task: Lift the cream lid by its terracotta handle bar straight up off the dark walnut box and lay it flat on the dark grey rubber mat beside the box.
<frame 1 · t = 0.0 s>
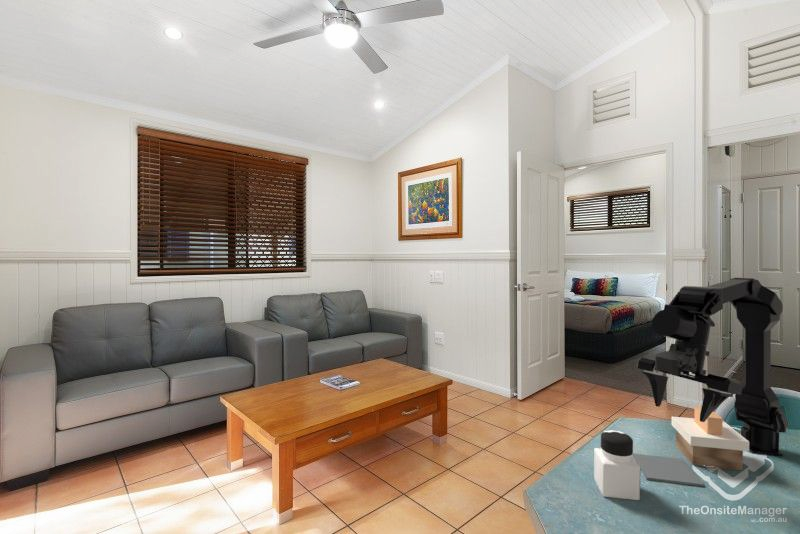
hand: (678, 413, 88), 15 cm above the table, tool pointing down, fingers open, 9 cm apart
medicine bottle: (615, 490, 87), on the table
lid: (707, 433, 100), point 6 cm above the table, touching walnut box
rubber mat: (665, 469, 94), on the table
walnut box: (707, 456, 100), on the table
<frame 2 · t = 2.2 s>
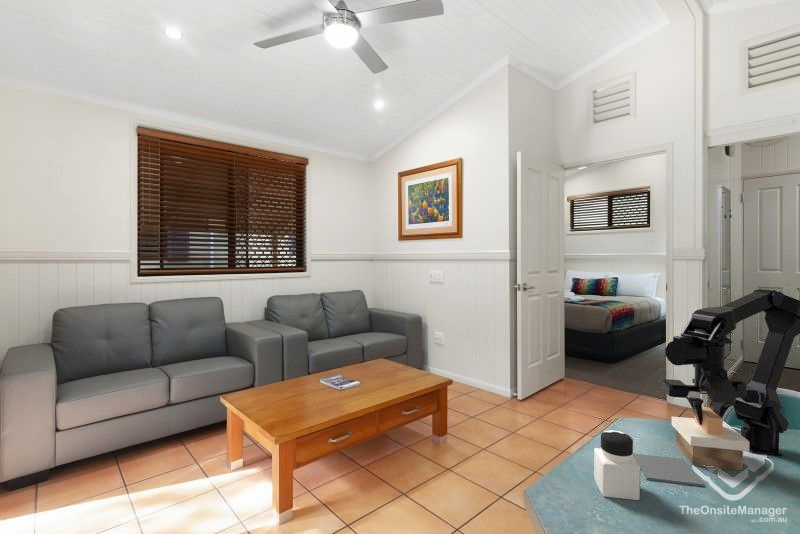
hand: (707, 425, 99), 8 cm above the table, tool pointing down, fingers closed on lid, 3 cm apart
lid: (707, 433, 100), point 6 cm above the table, touching gripper, walnut box
everything else where it was.
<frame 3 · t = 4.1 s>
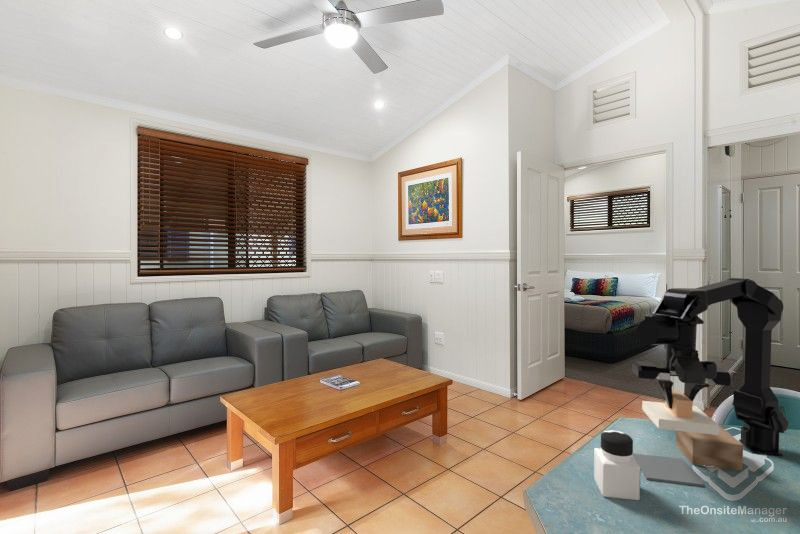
hand: (678, 408, 95), 14 cm above the table, tool pointing down, fingers closed on lid, 3 cm apart
lid: (677, 417, 95), point 12 cm above the table, touching gripper
everything else where it was.
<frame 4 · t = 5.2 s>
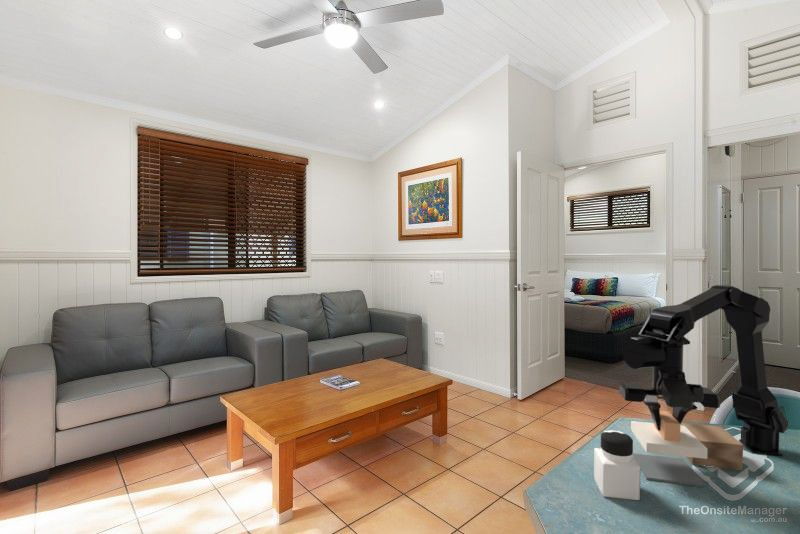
hand: (666, 430, 94), 9 cm above the table, tool pointing down, fingers closed on lid, 3 cm apart
lid: (666, 438, 94), point 7 cm above the table, touching gripper
everything else where it was.
when the fingers open (5 cm above the table, at t = 6.2 s): lid drops 2 cm, resting on rubber mat.
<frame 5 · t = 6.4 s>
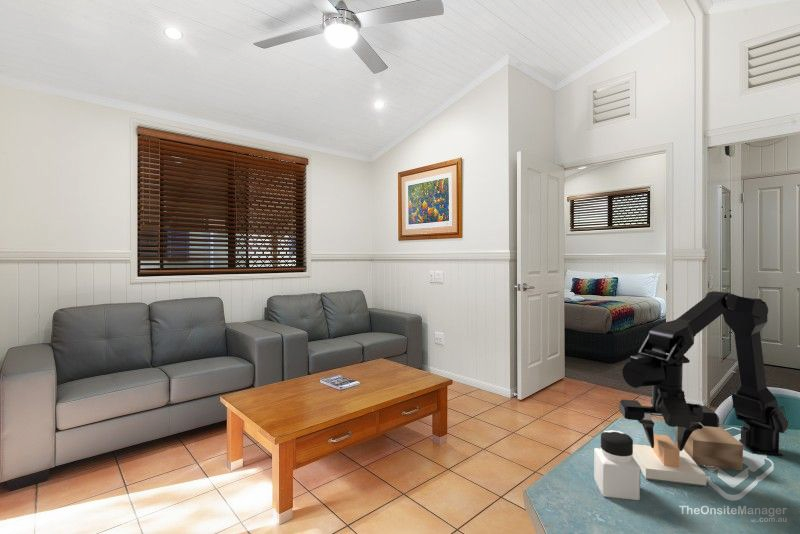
hand: (665, 448, 94), 5 cm above the table, tool pointing down, fingers open, 5 cm apart
lid: (665, 463, 94), point 1 cm above the table, touching rubber mat
everything else where it was.
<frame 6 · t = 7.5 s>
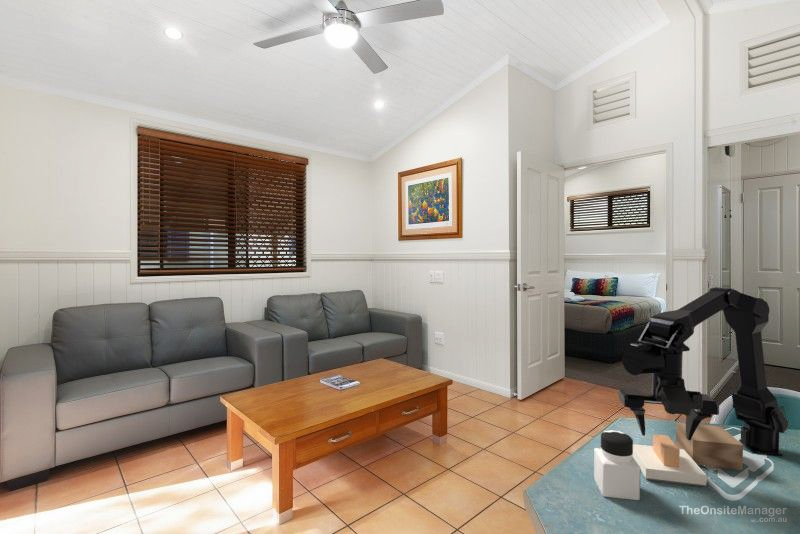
hand: (665, 437, 94), 8 cm above the table, tool pointing down, fingers open, 9 cm apart
nothing on the table moved.
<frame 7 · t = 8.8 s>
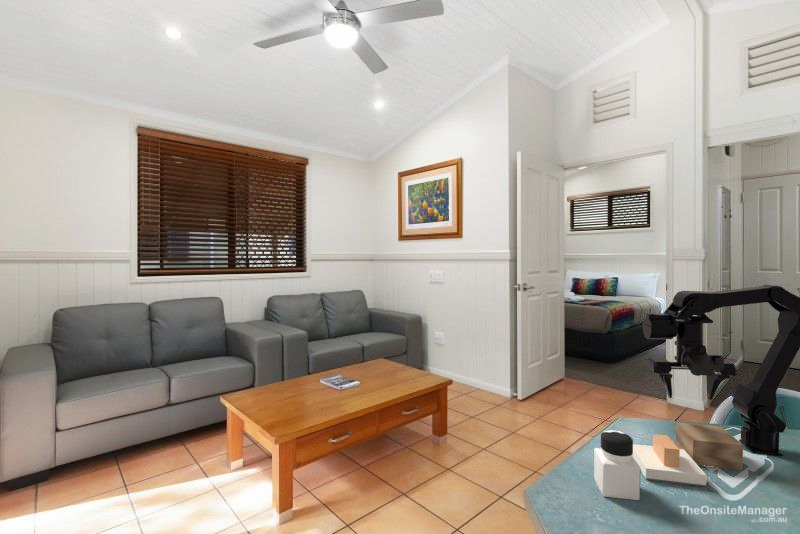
hand: (689, 398, 106), 12 cm above the table, tool pointing down, fingers open, 9 cm apart
nothing on the table moved.
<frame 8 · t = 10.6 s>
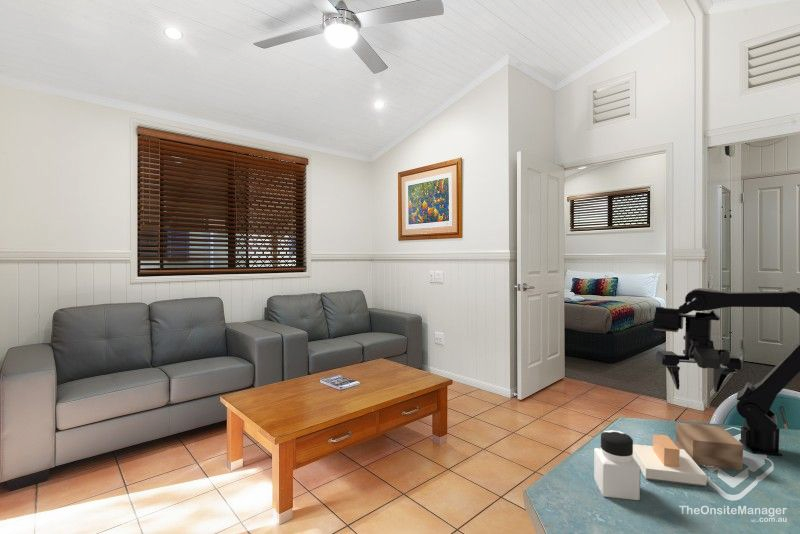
hand: (696, 390, 112), 12 cm above the table, tool pointing down, fingers open, 9 cm apart
nothing on the table moved.
at the end: lid 0.0 cm off-centre on the rubber mat, point 1.5 cm above the rubber mat's base; lid tilted 0°; the gripper is holding nothing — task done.
